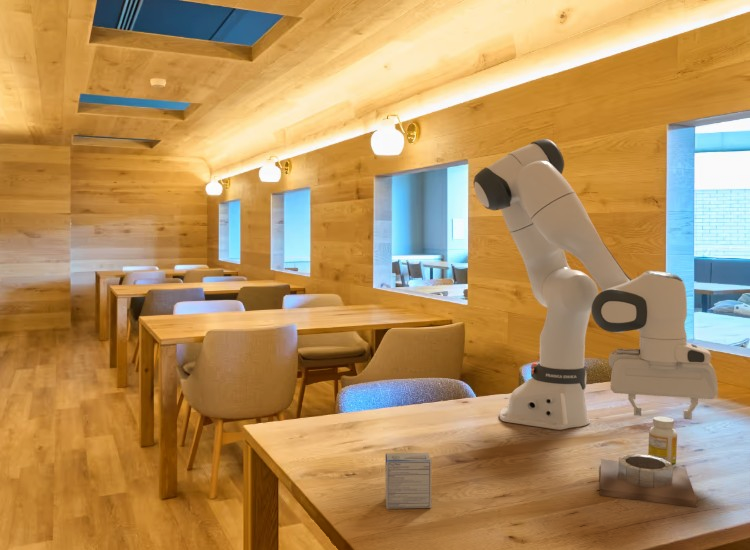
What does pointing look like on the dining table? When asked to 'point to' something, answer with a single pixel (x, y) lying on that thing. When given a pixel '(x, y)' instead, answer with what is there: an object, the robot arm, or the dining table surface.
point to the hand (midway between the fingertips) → (662, 416)
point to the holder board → (646, 480)
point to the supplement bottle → (663, 439)
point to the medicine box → (408, 480)
